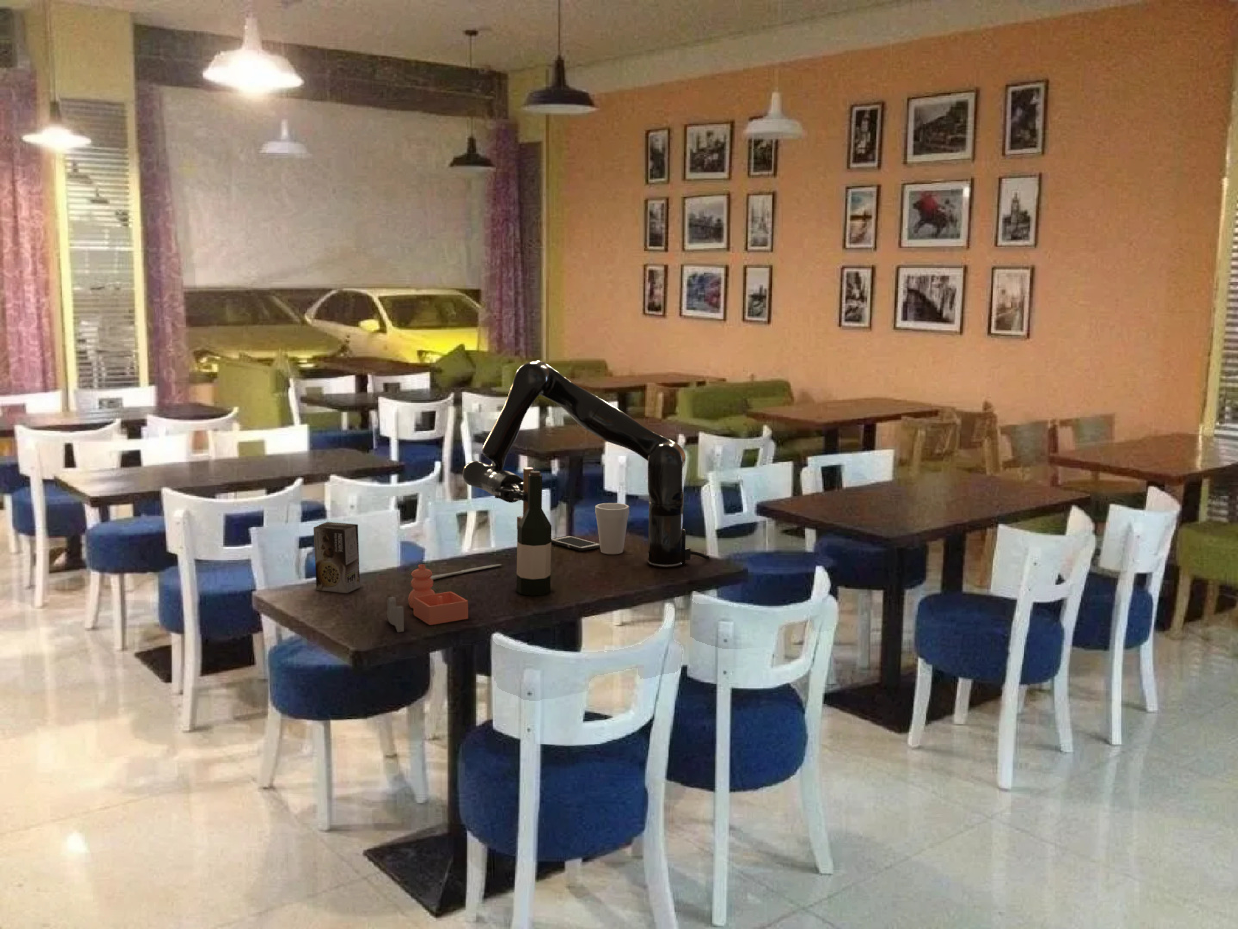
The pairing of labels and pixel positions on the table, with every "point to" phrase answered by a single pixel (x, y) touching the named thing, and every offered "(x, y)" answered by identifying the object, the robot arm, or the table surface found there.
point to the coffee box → (336, 557)
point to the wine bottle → (534, 543)
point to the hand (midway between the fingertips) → (533, 497)
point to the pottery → (434, 600)
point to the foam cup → (612, 526)
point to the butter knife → (461, 571)
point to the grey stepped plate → (395, 614)
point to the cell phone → (575, 543)
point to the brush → (525, 489)
